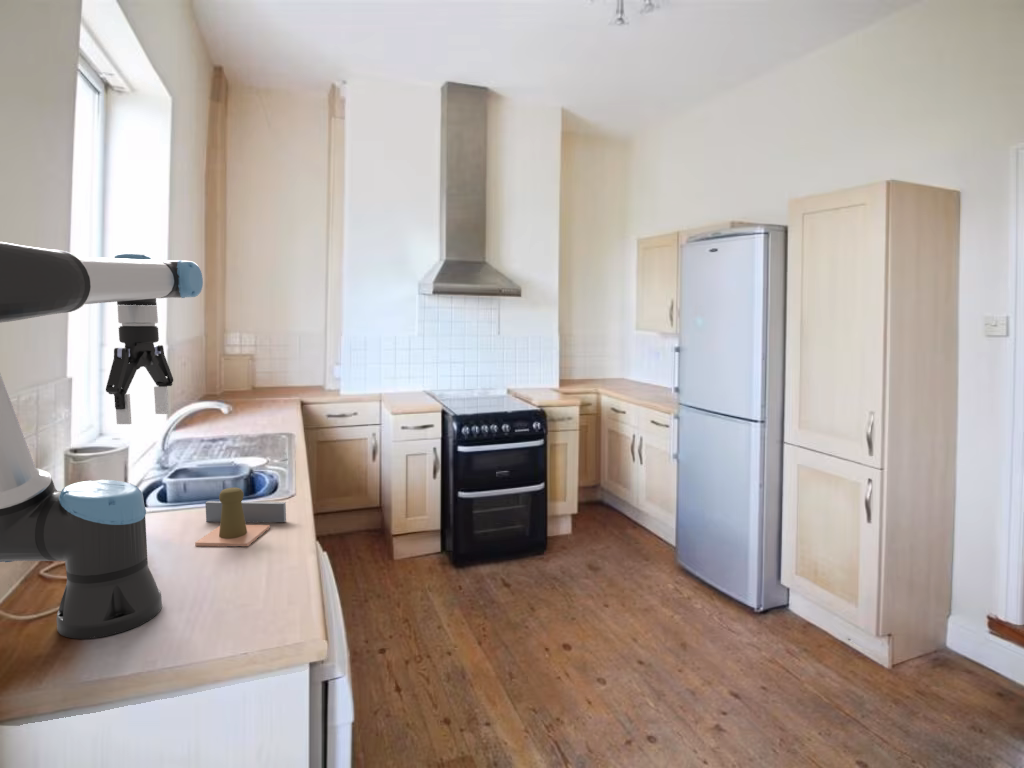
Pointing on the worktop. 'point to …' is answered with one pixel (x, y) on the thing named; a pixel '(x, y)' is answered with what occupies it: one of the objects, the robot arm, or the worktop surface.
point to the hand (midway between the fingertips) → (144, 418)
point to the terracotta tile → (244, 540)
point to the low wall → (250, 511)
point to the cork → (232, 514)
